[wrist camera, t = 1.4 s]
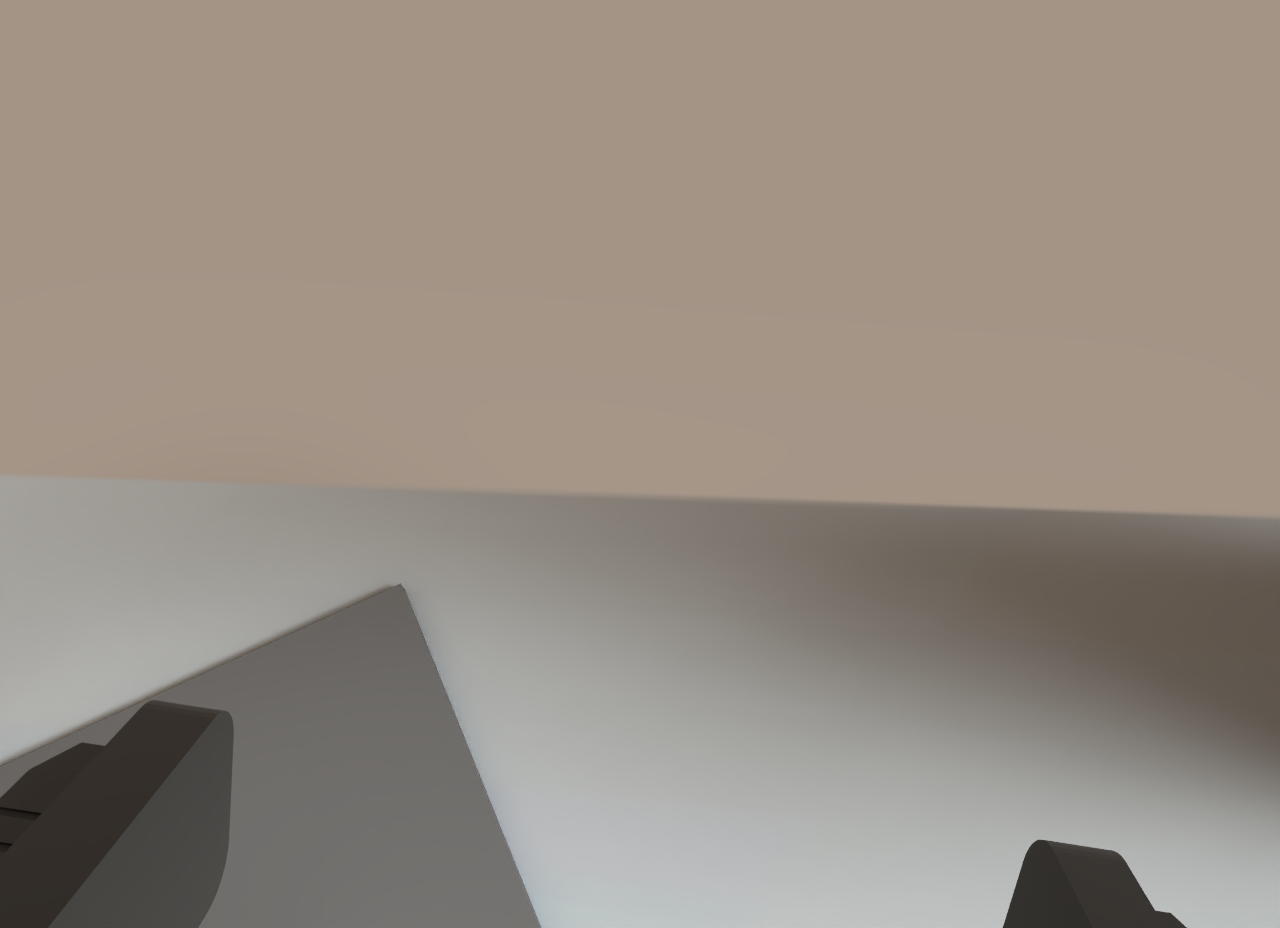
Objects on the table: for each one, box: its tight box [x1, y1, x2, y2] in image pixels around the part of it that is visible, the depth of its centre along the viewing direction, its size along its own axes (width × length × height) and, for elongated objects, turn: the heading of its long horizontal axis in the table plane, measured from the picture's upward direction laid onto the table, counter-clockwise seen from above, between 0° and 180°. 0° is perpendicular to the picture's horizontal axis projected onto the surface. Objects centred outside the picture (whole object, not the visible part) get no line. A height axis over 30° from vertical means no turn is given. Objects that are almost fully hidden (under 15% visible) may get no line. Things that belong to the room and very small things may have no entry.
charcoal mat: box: [0, 584, 541, 928], centre depth 32 cm, size 15×15×1 cm
